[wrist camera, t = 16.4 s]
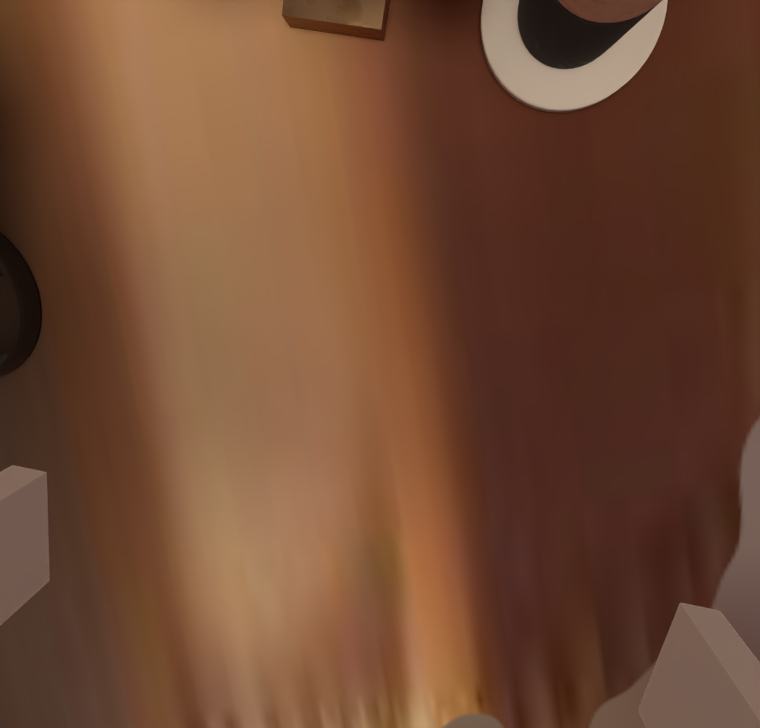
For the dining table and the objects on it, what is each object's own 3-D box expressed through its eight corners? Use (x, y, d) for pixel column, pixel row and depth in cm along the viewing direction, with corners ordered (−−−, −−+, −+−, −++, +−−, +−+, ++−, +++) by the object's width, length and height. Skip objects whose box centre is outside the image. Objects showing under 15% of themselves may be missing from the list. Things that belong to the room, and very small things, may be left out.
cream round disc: (464, 99, 36) (465, 95, 35) (501, -98, 33) (504, -110, 32) (629, 124, 35) (636, 121, 34) (684, -75, 32) (693, -86, 31)
